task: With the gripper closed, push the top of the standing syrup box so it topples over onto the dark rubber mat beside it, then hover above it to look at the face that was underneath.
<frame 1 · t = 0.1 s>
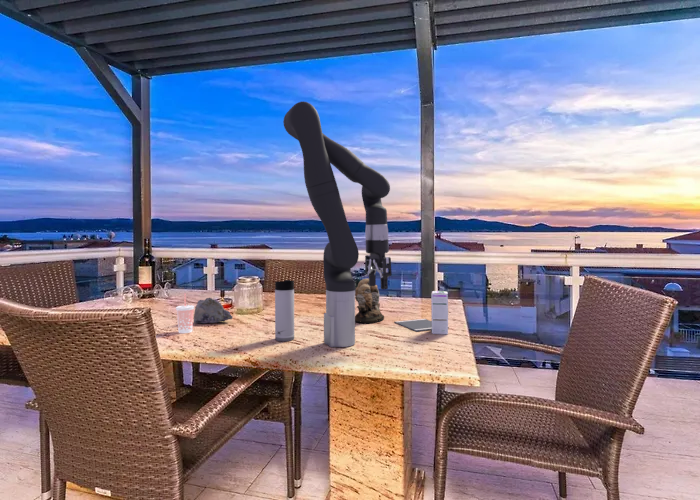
hand: (378, 287, 136), 17 cm above the table, tool pointing down, fingers open, 8 cm apart
mineral rock: (212, 323, 160), on the table
travel mug: (285, 339, 136), on the table
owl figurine: (368, 320, 167), on the table
mat: (420, 325, 157), on the table
beverage cup: (185, 332, 146), on the table
syrup box: (439, 332, 146), on the table
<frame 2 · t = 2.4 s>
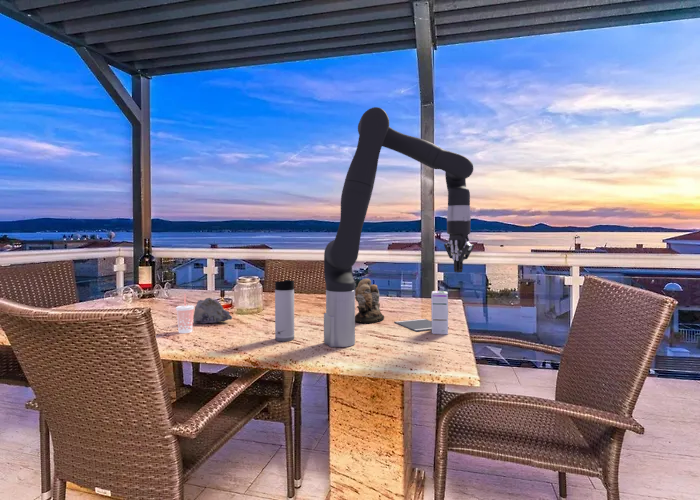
hand: (458, 272, 136), 22 cm above the table, tool pointing down, fingers closed
nothing on the table moved.
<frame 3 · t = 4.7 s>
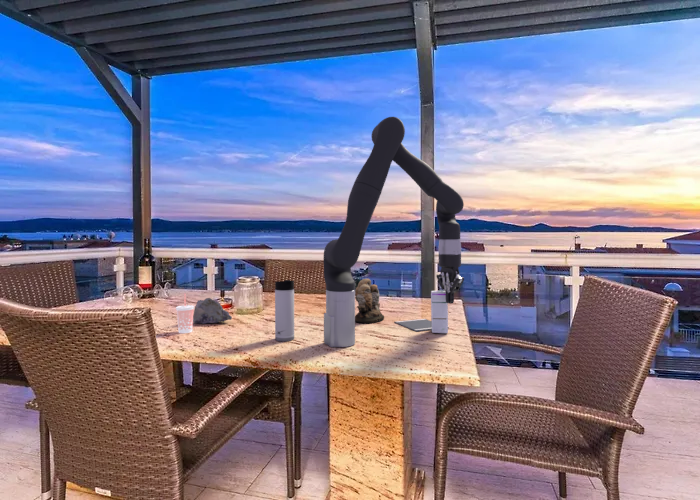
hand: (449, 303, 141), 11 cm above the table, tool pointing down, fingers closed
syrup box: (439, 332, 146), on the table, touching gripper
everything else where it was.
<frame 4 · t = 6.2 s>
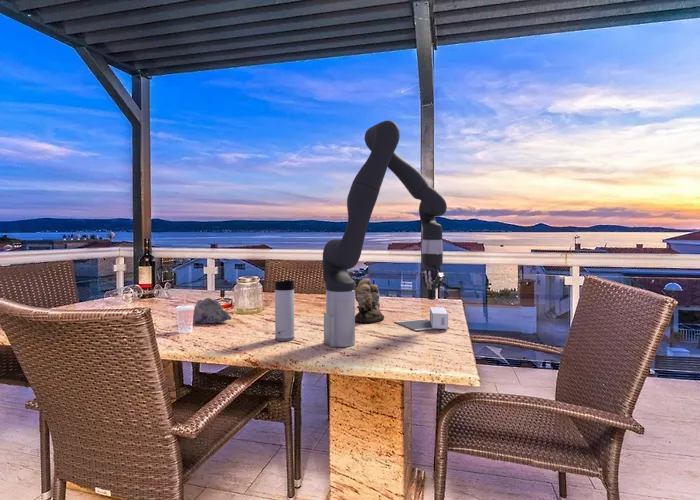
hand: (431, 299, 150), 11 cm above the table, tool pointing down, fingers closed
syrup box: (439, 321, 149), point 3 cm above the table, touching mat
everything else where it was.
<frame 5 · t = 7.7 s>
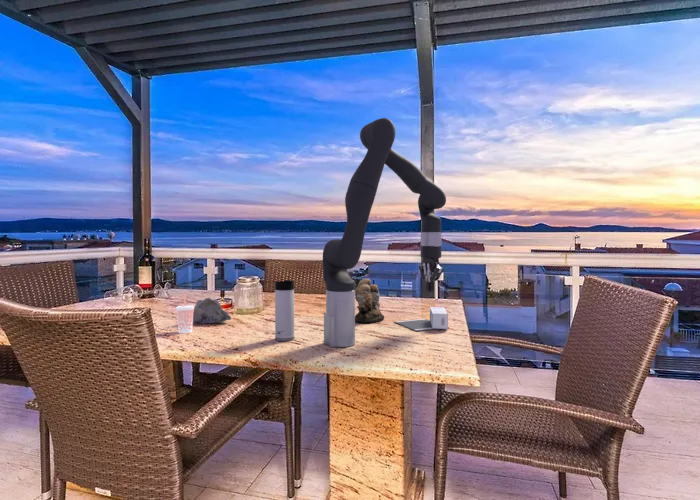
hand: (430, 291, 151), 14 cm above the table, tool pointing down, fingers closed
nothing on the table moved.
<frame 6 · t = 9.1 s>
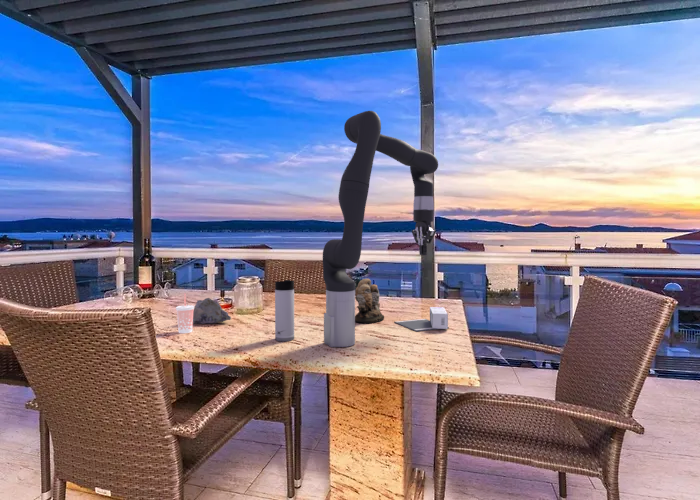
hand: (423, 255, 155), 27 cm above the table, tool pointing down, fingers closed
nothing on the table moved.
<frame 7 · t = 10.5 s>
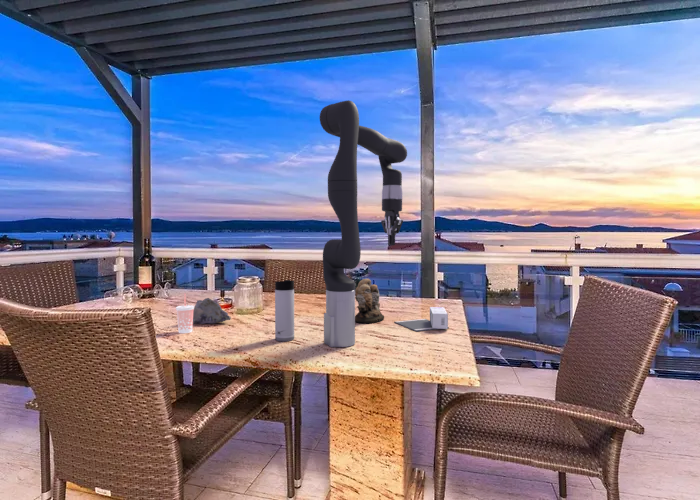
hand: (391, 245, 153), 31 cm above the table, tool pointing down, fingers closed
nothing on the table moved.
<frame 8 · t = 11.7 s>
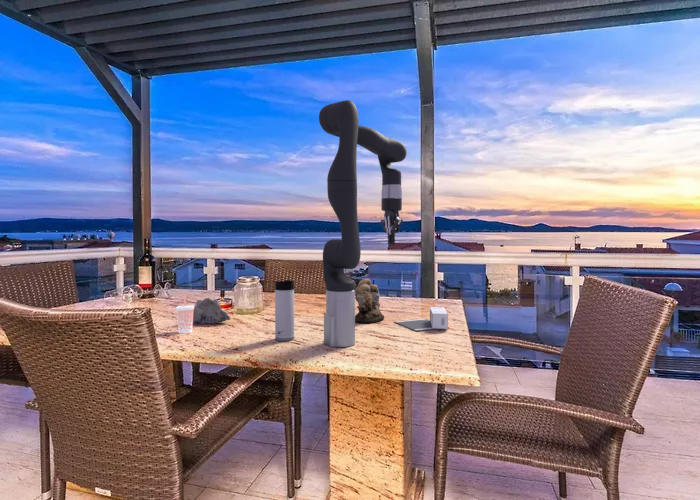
hand: (391, 244, 153), 31 cm above the table, tool pointing down, fingers closed
at the end: syrup box tilted 91°; syrup box inside the target area (10.5 cm from its centre), point 3.4 cm above the table; syrup box moved 4.2 cm from its start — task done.
